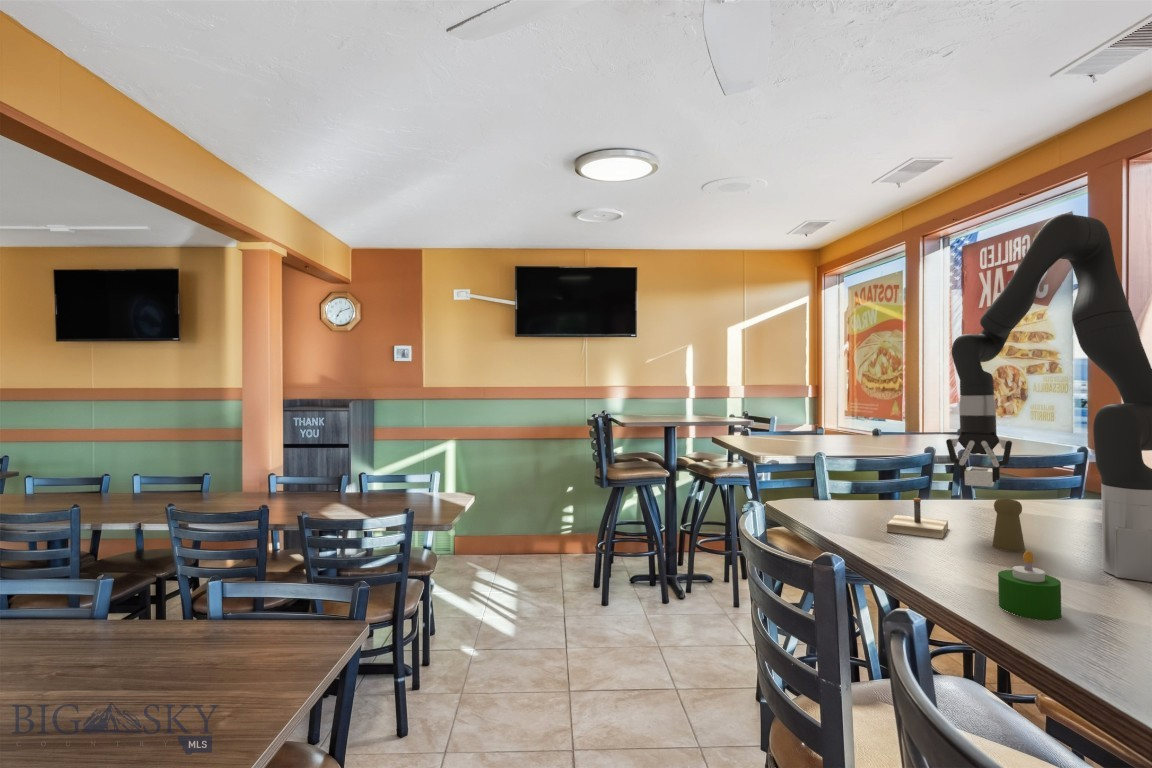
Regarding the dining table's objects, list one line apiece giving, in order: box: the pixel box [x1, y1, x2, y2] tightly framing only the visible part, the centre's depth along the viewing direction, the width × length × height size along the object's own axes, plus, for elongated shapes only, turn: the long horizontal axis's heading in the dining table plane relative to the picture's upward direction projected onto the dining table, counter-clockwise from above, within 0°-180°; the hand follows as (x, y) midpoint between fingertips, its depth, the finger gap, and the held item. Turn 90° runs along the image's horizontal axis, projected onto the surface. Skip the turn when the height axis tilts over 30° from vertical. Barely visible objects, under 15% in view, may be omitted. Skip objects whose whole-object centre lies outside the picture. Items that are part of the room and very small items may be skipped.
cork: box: [992, 498, 1026, 553], centre depth 134 cm, size 6×6×11 cm
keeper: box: [886, 497, 949, 539], centre depth 151 cm, size 12×12×8 cm
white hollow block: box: [964, 466, 995, 488], centre depth 147 cm, size 8×6×4 cm
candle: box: [997, 550, 1062, 621], centre depth 98 cm, size 8×8×10 cm
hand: (979, 480), depth 147 cm, fingers closed on white hollow block, 5 cm apart
